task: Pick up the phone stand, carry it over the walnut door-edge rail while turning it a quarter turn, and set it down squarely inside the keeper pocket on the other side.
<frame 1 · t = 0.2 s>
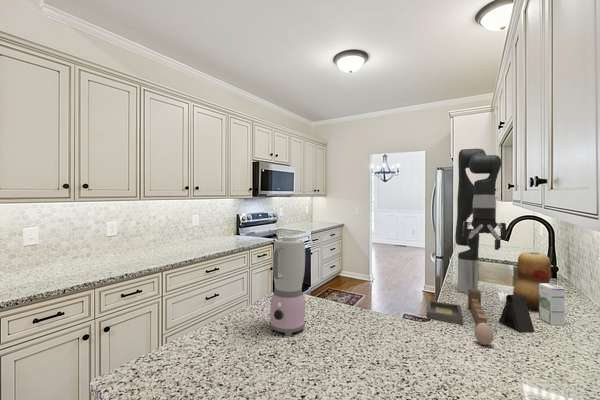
hand: (483, 249, 110), 28 cm above the countertop, tool pointing down, fingers open, 8 cm apart
butternut squash: (532, 308, 127), on the countertop
blender: (284, 330, 99), on the countertop
door-edge rail: (478, 320, 111), on the countertop
keeper: (443, 314, 117), on the countertop
phone stand: (516, 327, 106), on the countertop
egg: (483, 344, 92), on the countertop
syrup box: (551, 322, 112), on the countertop
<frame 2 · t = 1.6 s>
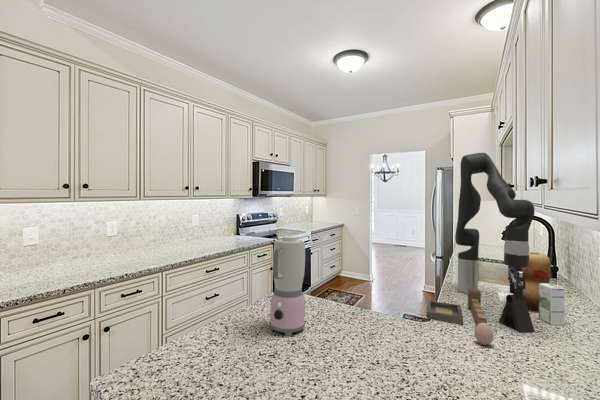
hand: (515, 296, 106), 11 cm above the countertop, tool pointing down, fingers open, 8 cm apart
nothing on the countertop moved.
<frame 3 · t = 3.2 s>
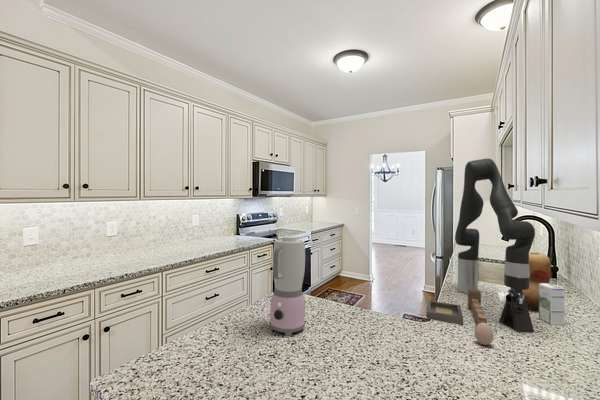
hand: (516, 320, 106), 2 cm above the countertop, tool pointing down, fingers closed on phone stand, 3 cm apart
phone stand: (515, 327, 106), on the countertop, touching gripper
everything else where it was.
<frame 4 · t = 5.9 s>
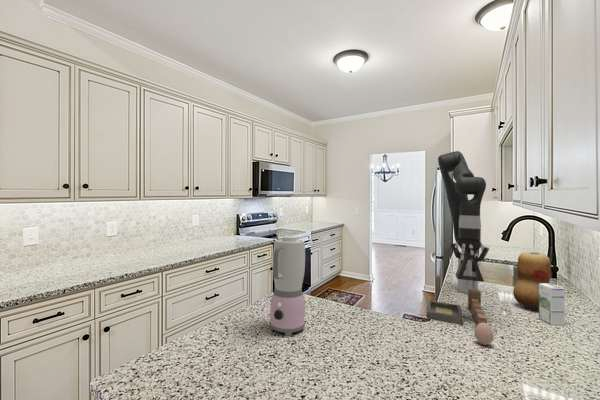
hand: (468, 270, 113), 19 cm above the countertop, tool pointing down, fingers closed on phone stand, 3 cm apart
phone stand: (469, 279, 113), point 16 cm above the countertop, touching gripper
everything else where it was.
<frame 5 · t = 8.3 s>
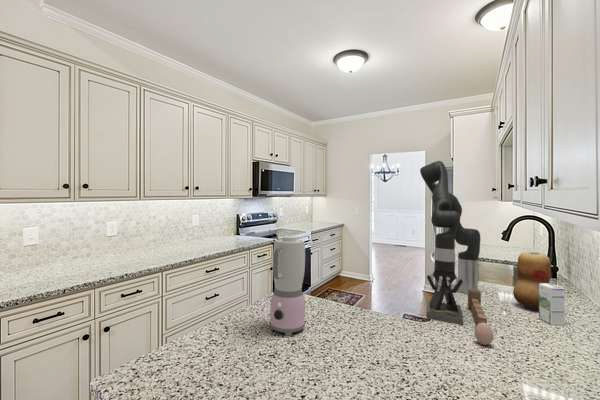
hand: (443, 301, 117), 5 cm above the countertop, tool pointing down, fingers closed on phone stand, 2 cm apart
phone stand: (443, 308, 117), point 3 cm above the countertop, touching gripper, keeper
everything else where it was.
when the fingers open (5 cm above the countertop, at t = 8.3 s): phone stand drops 1 cm, resting on keeper.
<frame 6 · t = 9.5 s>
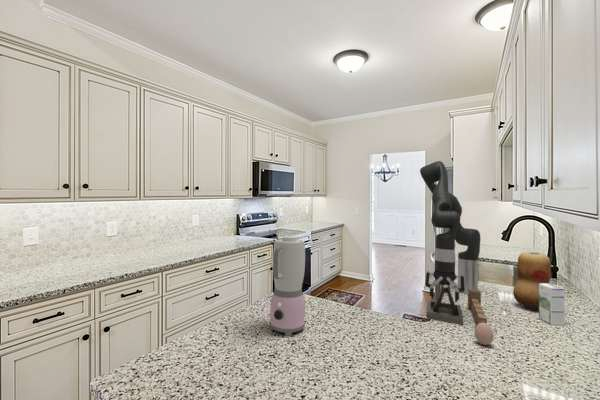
hand: (444, 299, 117), 6 cm above the countertop, tool pointing down, fingers open, 8 cm apart
phone stand: (445, 312, 116), point 1 cm above the countertop, touching keeper
everything else where it was.
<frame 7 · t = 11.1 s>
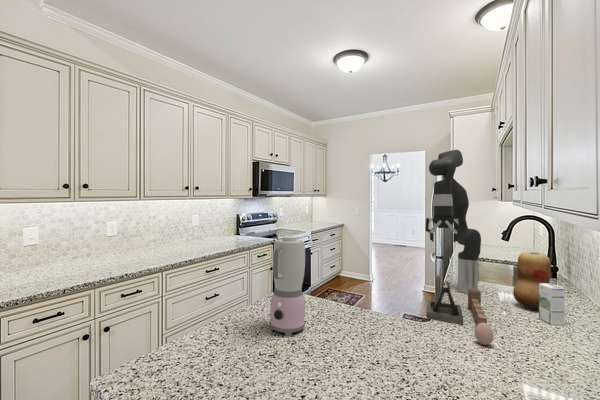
hand: (443, 242, 125), 29 cm above the countertop, tool pointing down, fingers open, 8 cm apart
nothing on the countertop moved.
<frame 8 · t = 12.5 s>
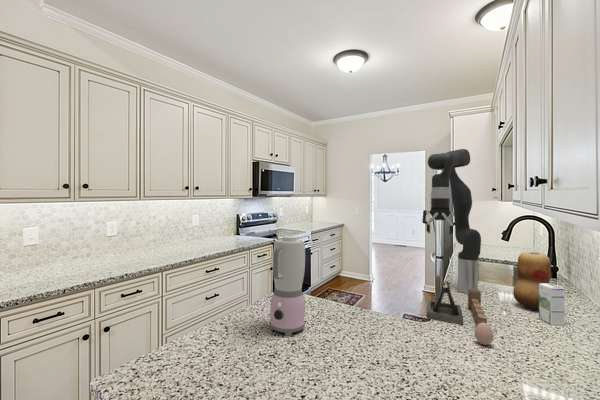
hand: (439, 233, 128), 32 cm above the countertop, tool pointing down, fingers open, 8 cm apart
nothing on the countertop moved.
at the end: phone stand inside the target area on the keeper (0.5 cm from its centre), point 1.2 cm above the keeper's base; phone stand tilted 0°; the gripper is holding nothing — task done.
